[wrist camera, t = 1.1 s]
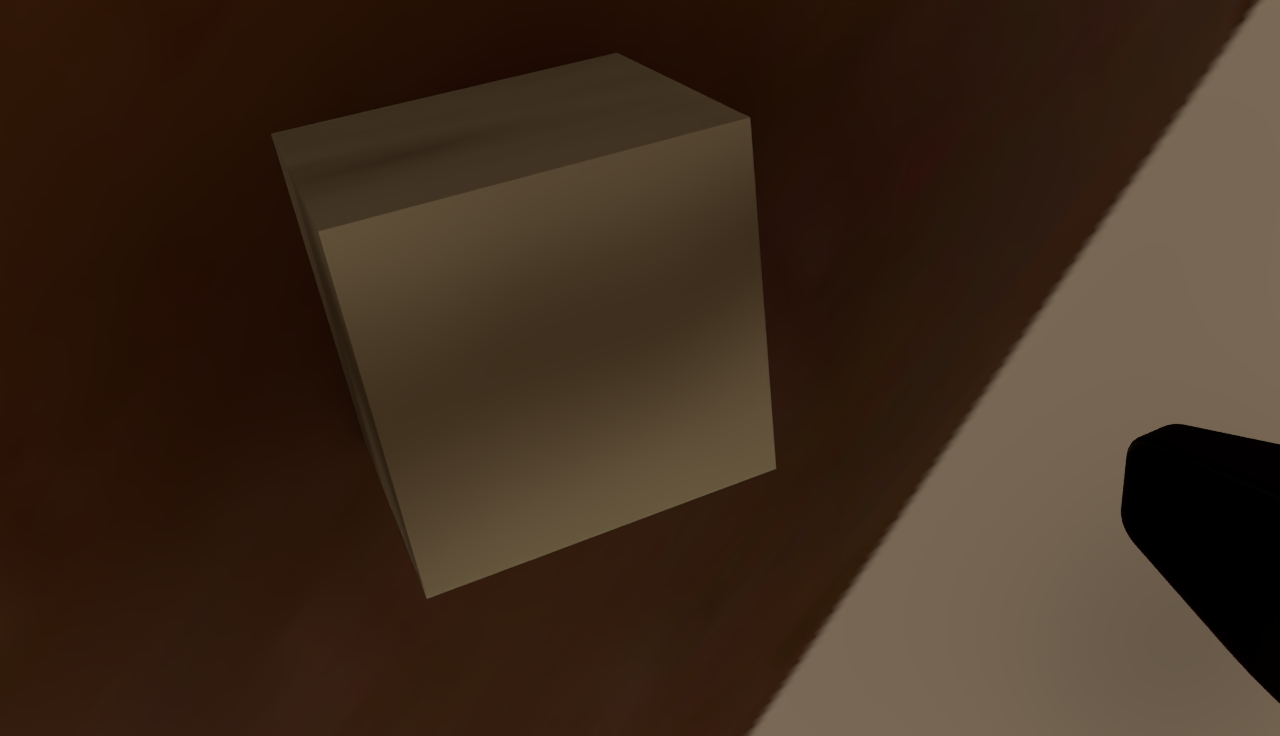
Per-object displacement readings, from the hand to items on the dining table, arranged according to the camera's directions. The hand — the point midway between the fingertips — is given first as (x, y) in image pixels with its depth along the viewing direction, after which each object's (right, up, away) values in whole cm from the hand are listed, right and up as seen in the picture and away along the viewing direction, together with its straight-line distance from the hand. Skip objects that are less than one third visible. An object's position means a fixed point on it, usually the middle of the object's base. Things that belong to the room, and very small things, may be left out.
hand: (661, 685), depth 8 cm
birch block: (-3, +5, +11) cm, 13 cm away
